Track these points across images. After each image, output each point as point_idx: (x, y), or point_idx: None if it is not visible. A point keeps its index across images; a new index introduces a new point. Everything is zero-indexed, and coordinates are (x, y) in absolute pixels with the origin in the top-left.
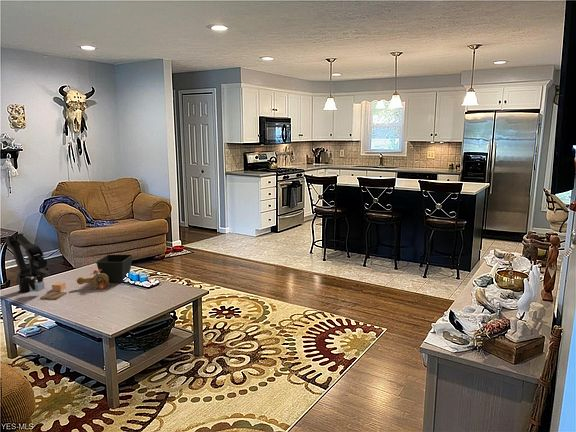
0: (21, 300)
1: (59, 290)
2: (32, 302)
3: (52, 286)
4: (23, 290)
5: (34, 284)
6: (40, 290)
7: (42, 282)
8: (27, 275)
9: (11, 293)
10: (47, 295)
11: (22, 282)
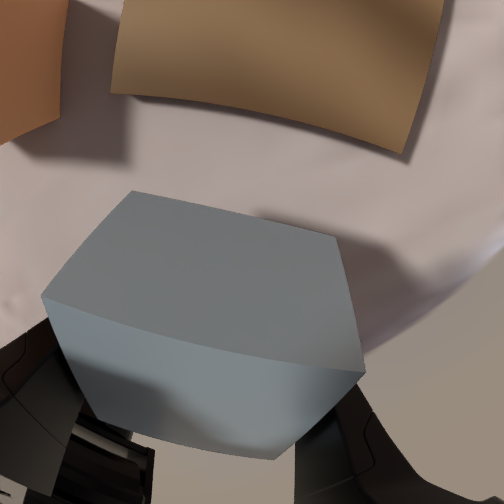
0: (368, 332)
1: (58, 16)
2: (479, 209)
3: (11, 130)
4: None
5: (361, 435)
6: (272, 223)
7: (91, 325)
8: (77, 497)
9: None
10: (316, 57)
11: (120, 447)
